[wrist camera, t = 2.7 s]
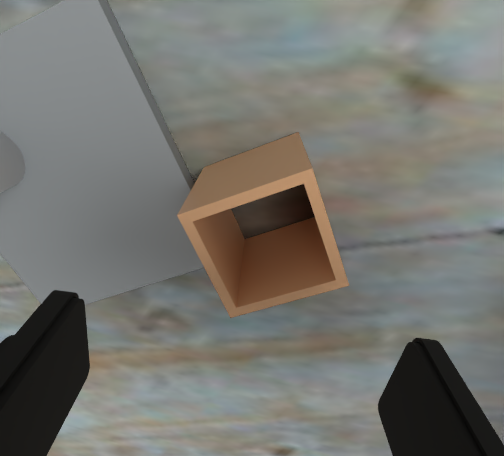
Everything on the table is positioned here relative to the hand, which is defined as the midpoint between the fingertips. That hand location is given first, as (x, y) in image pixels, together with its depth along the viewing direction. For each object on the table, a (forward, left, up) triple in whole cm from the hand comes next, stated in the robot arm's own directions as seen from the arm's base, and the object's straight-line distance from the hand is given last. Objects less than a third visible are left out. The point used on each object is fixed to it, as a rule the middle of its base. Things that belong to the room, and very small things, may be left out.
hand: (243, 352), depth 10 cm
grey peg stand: (+5, +10, -13) cm, 17 cm away
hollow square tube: (0, -1, -13) cm, 13 cm away
